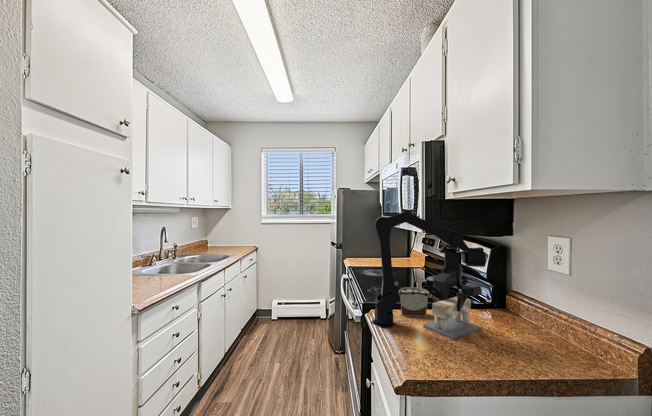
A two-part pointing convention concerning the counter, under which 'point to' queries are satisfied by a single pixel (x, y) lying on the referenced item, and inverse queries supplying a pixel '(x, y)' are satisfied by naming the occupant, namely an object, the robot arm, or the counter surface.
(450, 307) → the beige marbled block
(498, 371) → the counter surface
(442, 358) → the counter surface
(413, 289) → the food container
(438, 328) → the peg stand
